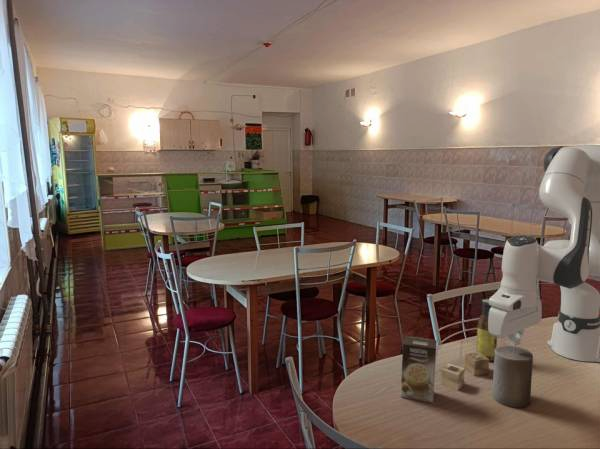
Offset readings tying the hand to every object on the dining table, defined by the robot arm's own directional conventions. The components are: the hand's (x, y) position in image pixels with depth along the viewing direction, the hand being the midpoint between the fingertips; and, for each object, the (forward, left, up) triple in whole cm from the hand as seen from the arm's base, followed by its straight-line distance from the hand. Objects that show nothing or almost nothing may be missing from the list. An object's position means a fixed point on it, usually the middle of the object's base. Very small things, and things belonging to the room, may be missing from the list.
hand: (514, 344), depth 120 cm
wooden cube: (-6, -15, -16) cm, 23 cm away
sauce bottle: (-17, -19, -16) cm, 30 cm away
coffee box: (+20, -16, -16) cm, 30 cm away
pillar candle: (0, 0, -16) cm, 16 cm away
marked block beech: (+7, -14, -16) cm, 22 cm away
